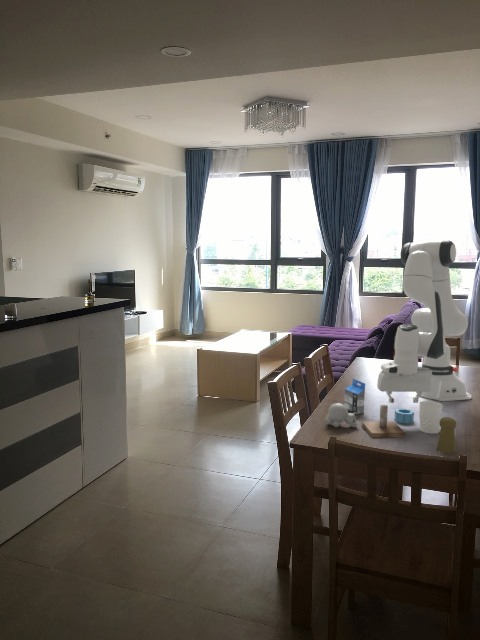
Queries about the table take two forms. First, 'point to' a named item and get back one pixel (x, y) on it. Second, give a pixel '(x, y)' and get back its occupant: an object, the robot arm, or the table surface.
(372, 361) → the table surface
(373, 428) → the post block
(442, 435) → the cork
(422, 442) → the table surface
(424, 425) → the white cup
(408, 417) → the ring
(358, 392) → the blue printed box
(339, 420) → the round bodied animal figurine
